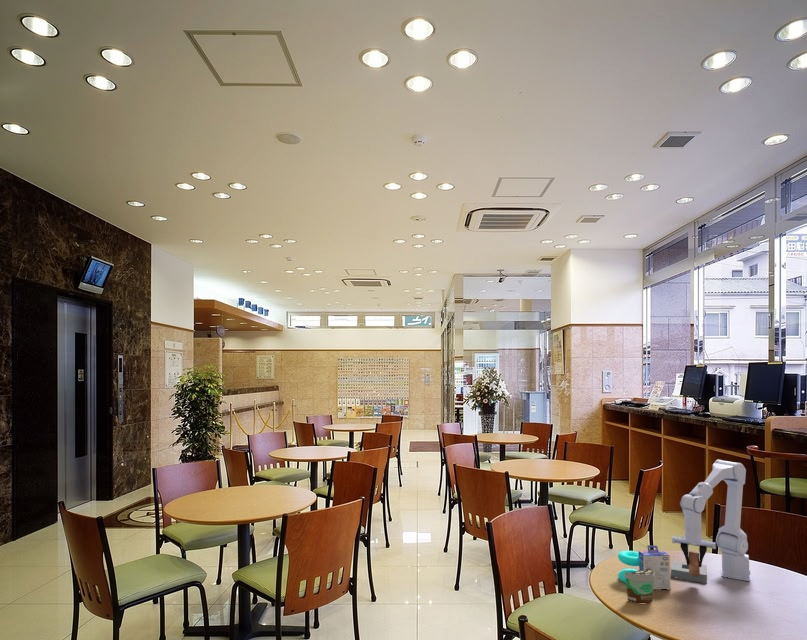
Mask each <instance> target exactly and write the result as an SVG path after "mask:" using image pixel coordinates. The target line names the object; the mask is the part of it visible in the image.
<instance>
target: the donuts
mask: <svg viewBox="0 0 807 640" xmlns="http://www.w3.org/2000/svg"><path fill="white" fill-rule="evenodd" d="M617 558H618V560H619V561H620V562H621V563H622V564H624V565H626V566H630V567H639V566H640V558H639V551H636V550H622V551H619V552H618V554H617ZM637 570H638V569H634V568H624V569H621V570H619V571H618V574H617V575H618V578H619V580H620V581H621V582H623V583H625V584H626V578H624V576H625V571H626V572H629V573H632V572H635V571H637Z"/></svg>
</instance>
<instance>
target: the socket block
mask: <svg viewBox="0 0 807 640" xmlns="http://www.w3.org/2000/svg"><path fill="white" fill-rule="evenodd" d="M707 568H708V567H707V565H706V564H702V566H701V567H700V576H693V575H690V574H689V565H687V562H686V561H680V560H675V559H673V560H672V563H671V568H670V574H671V578H673V577H677V578H676V579H679V578H682V579H681V580H685V579H686V581H691V582H696V581H697V582H696V583H702V582H704V583H703V584H707V583H708V582H707V581H708V570H707Z"/></svg>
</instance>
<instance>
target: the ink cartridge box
mask: <svg viewBox="0 0 807 640" xmlns="http://www.w3.org/2000/svg"><path fill="white" fill-rule="evenodd" d="M650 548H654V549H650ZM638 552H639V558H640V566H638V569H639V570H646V569H647V567H650V568H652V569H653V570H654V572H655V576H656V579H655V580H654V582H653V590H661V589H667V590H668V591H670V590H671V560H670V559H671V558H670V557H671V556H670V555H669V554H668V553H667V552H665V551H659V547H658V545H650V544H649V545H648V544H647V551H646V550H645V551H642V550H641V551H640V550H639V551H638Z"/></svg>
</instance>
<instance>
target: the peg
mask: <svg viewBox="0 0 807 640" xmlns="http://www.w3.org/2000/svg"><path fill="white" fill-rule="evenodd" d="M688 556H689V574H690V575H693V576H700V567H699V560H700V554H699V552H698V551H697V550H688Z"/></svg>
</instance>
